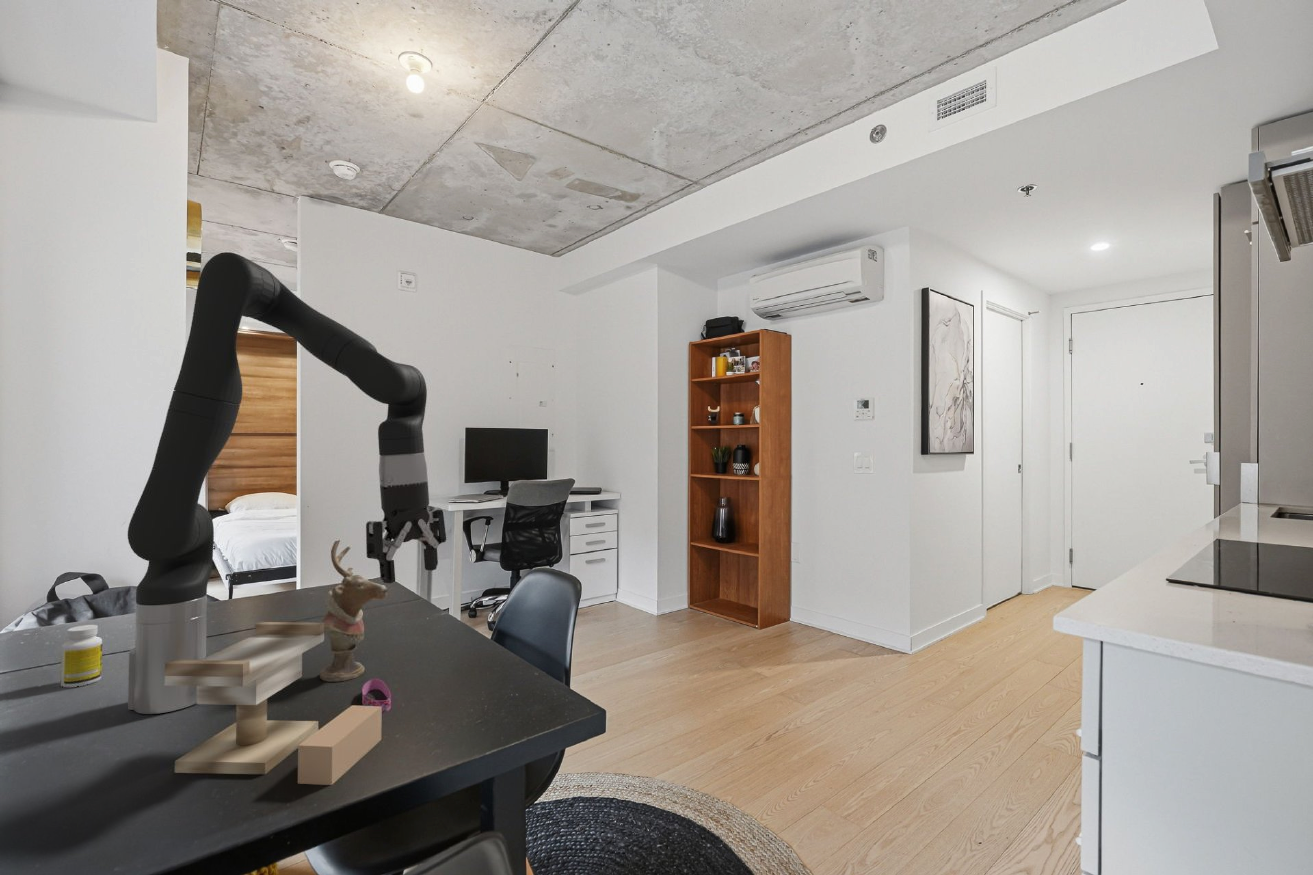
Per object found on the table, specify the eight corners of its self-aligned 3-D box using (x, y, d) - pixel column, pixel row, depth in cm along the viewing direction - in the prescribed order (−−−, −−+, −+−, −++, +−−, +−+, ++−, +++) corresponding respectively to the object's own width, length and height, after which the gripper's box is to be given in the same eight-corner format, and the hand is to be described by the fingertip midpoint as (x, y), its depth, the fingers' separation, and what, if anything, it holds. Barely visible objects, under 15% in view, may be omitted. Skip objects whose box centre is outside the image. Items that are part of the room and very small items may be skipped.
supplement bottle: (108, 679, 111) (108, 625, 111) (69, 690, 106) (70, 633, 106) (92, 674, 114) (93, 621, 114) (54, 685, 109) (55, 629, 109)
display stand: (155, 785, 77) (157, 662, 77) (253, 720, 95) (254, 621, 95) (249, 787, 77) (250, 664, 77) (329, 722, 95) (330, 622, 95)
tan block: (297, 784, 78) (298, 745, 78) (351, 739, 90) (352, 705, 90) (331, 786, 77) (332, 746, 77) (381, 740, 89) (381, 706, 89)
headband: (356, 694, 106) (356, 681, 106) (380, 689, 108) (381, 677, 108) (368, 717, 97) (368, 703, 97) (394, 711, 99) (394, 697, 99)
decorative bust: (401, 668, 114) (380, 535, 114) (324, 692, 107) (302, 550, 107) (390, 656, 123) (371, 533, 124) (318, 678, 116) (299, 547, 117)
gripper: (422, 476, 112) (428, 565, 112) (351, 486, 99) (358, 585, 100) (452, 476, 108) (458, 567, 109) (382, 485, 96) (389, 588, 96)
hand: (410, 576), depth 104 cm, fingers open, 8 cm apart
